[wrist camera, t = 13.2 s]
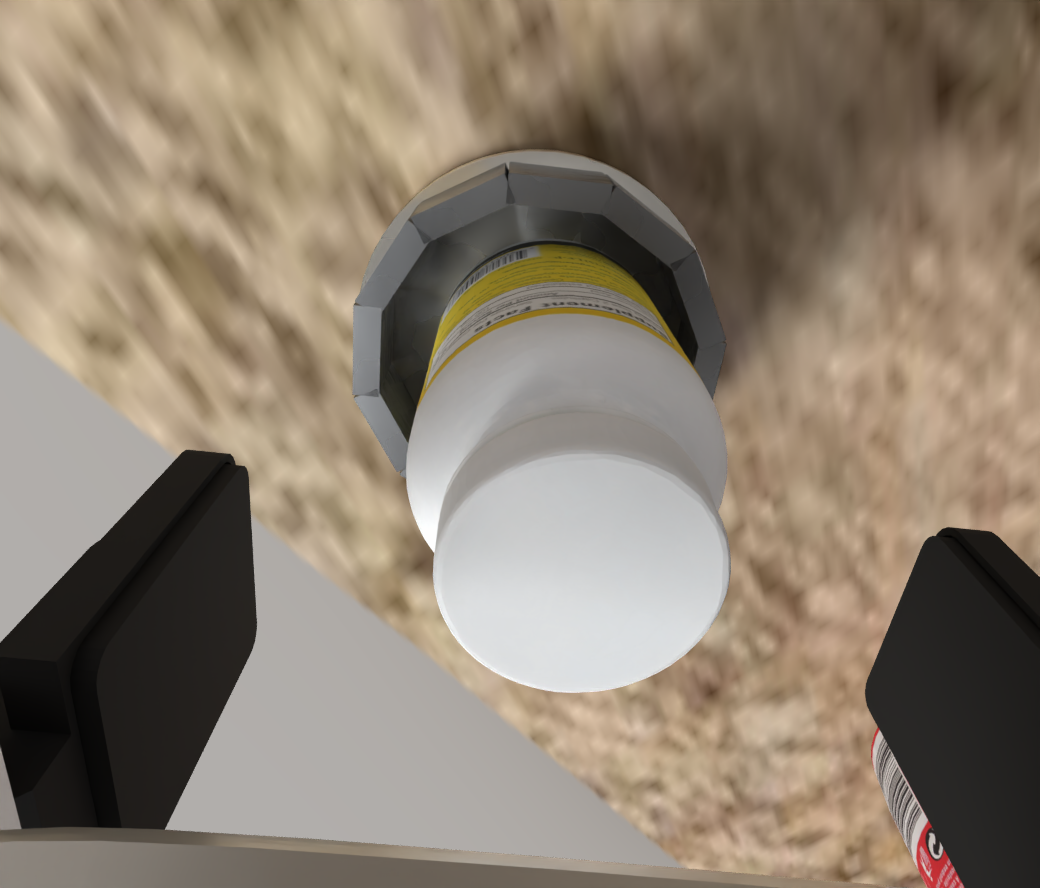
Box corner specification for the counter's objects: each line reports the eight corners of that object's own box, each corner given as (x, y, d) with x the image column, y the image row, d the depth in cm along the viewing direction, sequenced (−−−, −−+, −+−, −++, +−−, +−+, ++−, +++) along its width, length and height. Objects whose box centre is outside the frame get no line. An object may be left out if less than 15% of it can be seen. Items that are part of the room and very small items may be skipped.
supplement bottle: (620, 459, 20) (700, 761, 11) (421, 415, 20) (343, 698, 11) (688, 263, 18) (855, 452, 9) (464, 206, 17) (410, 350, 8)
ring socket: (744, 171, 17) (779, 187, 15) (669, 496, 21) (688, 548, 19) (363, 127, 17) (339, 136, 15) (358, 467, 21) (339, 517, 19)
